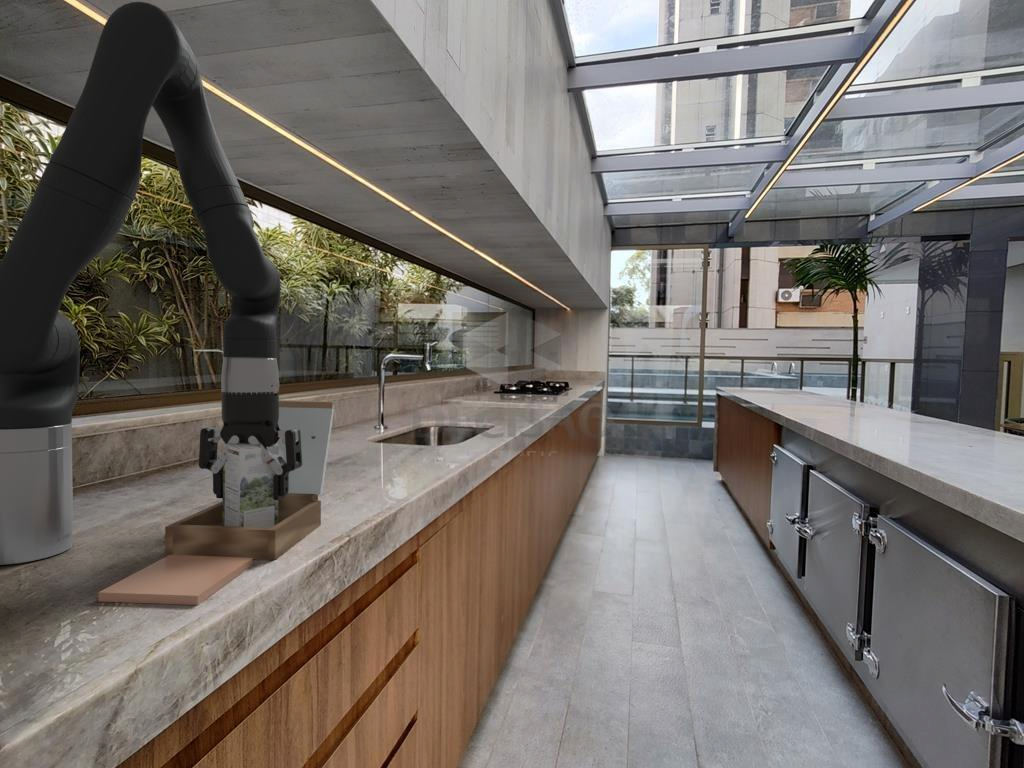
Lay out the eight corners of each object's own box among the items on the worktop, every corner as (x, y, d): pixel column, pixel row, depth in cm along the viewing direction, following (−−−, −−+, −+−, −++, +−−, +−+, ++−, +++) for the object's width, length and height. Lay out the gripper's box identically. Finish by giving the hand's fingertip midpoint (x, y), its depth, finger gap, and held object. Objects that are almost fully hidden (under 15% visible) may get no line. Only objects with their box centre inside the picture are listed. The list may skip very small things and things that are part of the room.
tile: (98, 601, 56) (98, 592, 56) (169, 562, 67) (169, 554, 67) (197, 604, 55) (197, 595, 55) (252, 565, 66) (252, 557, 66)
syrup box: (260, 530, 80) (261, 438, 80) (279, 539, 76) (279, 442, 76) (221, 539, 76) (221, 441, 75) (239, 549, 72) (239, 446, 71)
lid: (228, 493, 83) (228, 402, 83) (249, 484, 89) (249, 399, 89) (320, 495, 83) (320, 404, 82) (334, 486, 89) (335, 401, 88)
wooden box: (165, 556, 69) (164, 452, 68) (243, 515, 88) (243, 433, 87) (275, 559, 68) (275, 455, 68) (330, 517, 87) (330, 435, 87)
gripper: (186, 389, 72) (187, 504, 72) (286, 391, 71) (286, 506, 72) (218, 386, 79) (219, 490, 80) (309, 388, 79) (309, 492, 79)
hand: (251, 498), depth 76 cm, fingers open, 8 cm apart
